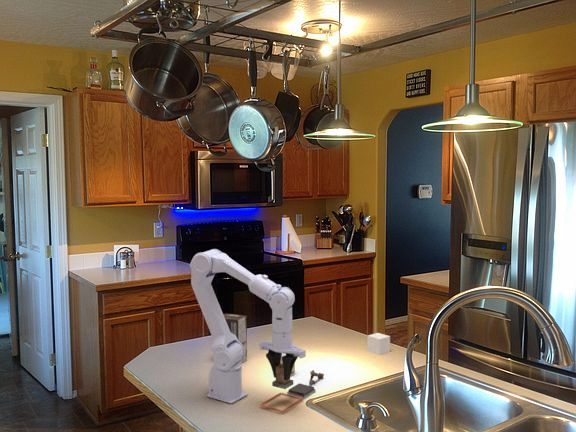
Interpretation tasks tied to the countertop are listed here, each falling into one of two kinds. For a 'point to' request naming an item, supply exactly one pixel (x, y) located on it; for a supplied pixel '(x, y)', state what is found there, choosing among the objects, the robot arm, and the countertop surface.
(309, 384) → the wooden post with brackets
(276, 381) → the stamp
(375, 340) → the white cube
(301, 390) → the ink pad
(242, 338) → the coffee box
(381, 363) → the countertop surface
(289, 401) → the red rimmed tray
